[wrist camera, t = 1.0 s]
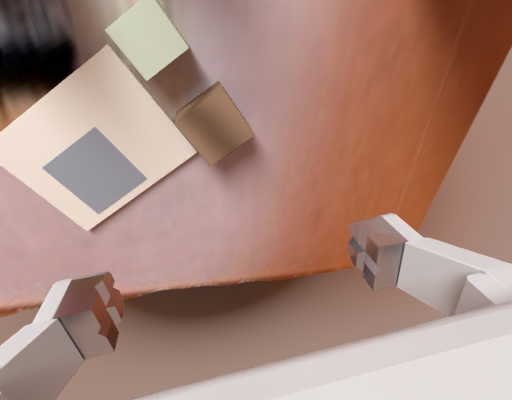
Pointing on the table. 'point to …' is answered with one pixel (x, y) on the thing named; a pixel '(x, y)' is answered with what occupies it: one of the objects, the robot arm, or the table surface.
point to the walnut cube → (213, 124)
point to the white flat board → (94, 141)
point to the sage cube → (147, 37)
